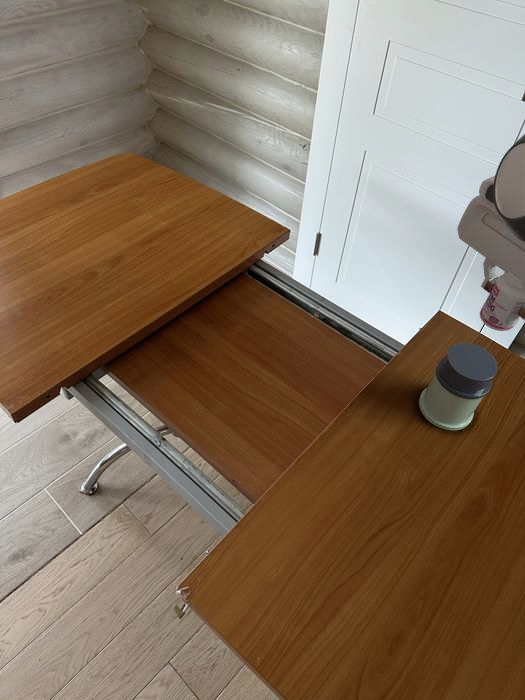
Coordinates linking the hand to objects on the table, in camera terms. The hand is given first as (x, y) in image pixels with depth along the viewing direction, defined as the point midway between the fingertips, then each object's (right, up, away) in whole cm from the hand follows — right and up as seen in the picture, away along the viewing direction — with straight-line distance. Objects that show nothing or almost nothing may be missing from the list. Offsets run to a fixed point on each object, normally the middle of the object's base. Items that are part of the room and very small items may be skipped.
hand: (506, 302), depth 68 cm
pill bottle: (0, -2, +2) cm, 3 cm away
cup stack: (-2, -16, +18) cm, 24 cm away
